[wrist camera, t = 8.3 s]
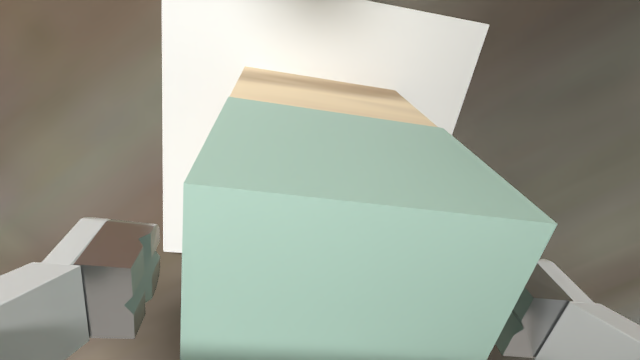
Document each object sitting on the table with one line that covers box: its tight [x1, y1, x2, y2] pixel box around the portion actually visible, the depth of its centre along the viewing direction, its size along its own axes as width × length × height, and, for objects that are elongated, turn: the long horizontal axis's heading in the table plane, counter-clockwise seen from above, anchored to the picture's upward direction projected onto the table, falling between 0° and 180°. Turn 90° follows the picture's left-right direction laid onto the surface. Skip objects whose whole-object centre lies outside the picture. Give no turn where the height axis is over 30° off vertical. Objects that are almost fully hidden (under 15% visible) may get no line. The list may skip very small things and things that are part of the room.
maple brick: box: [229, 66, 437, 127], centre depth 14 cm, size 6×6×5 cm
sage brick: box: [180, 97, 557, 360], centre depth 9 cm, size 6×6×5 cm
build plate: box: [162, 0, 489, 253], centre depth 16 cm, size 12×12×1 cm
